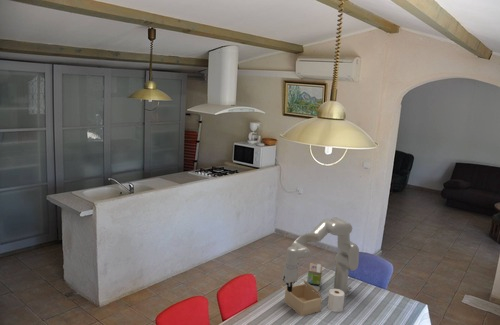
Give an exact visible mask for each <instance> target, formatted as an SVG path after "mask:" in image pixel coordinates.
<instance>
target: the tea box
mask: <svg viewBox="0 0 500 325" xmlns="http://www.w3.org/2000/svg"><path fill="white" fill-rule="evenodd" d="M307 272H308V273H307V281H306V282H307V283H309V284H310V285H311V286H313V287H314V288H315V289H317V290H318V291H320V289H321V282H322V274H323V273H322V272H323V264H320V263H315V262H310V263H309V265H308V271H307ZM306 286H307V285H306ZM307 287H308V286H307ZM310 289H311V288H310ZM311 290H312V289H311Z"/></svg>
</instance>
